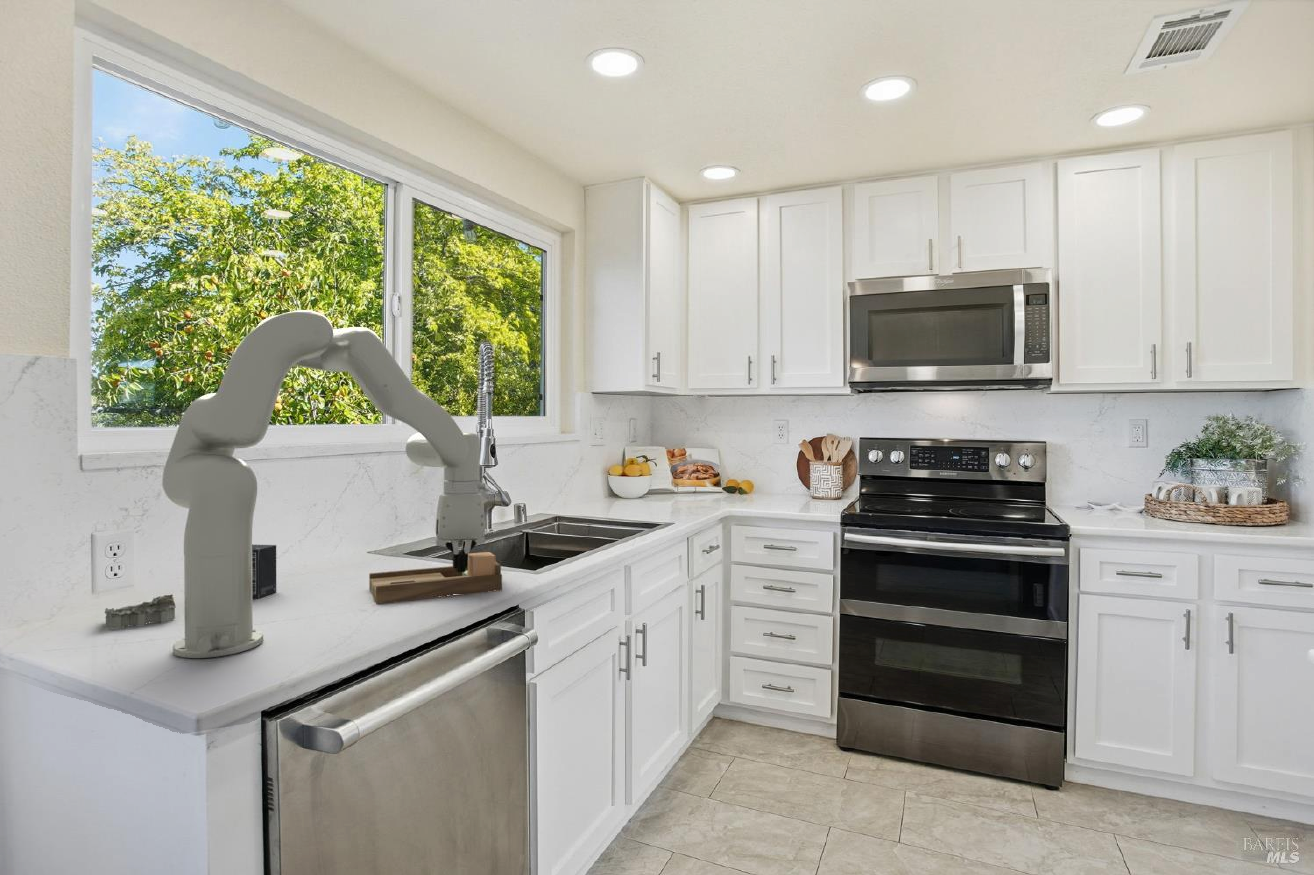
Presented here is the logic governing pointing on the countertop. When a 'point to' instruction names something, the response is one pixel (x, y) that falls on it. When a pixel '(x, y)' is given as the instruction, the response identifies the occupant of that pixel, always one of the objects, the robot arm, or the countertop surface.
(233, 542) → the robot arm
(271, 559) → the small box
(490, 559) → the block
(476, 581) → the wooden desk organizer
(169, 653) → the countertop surface
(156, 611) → the egg carton
